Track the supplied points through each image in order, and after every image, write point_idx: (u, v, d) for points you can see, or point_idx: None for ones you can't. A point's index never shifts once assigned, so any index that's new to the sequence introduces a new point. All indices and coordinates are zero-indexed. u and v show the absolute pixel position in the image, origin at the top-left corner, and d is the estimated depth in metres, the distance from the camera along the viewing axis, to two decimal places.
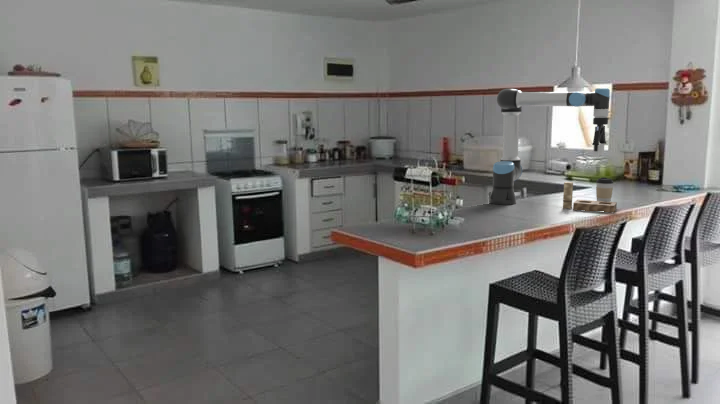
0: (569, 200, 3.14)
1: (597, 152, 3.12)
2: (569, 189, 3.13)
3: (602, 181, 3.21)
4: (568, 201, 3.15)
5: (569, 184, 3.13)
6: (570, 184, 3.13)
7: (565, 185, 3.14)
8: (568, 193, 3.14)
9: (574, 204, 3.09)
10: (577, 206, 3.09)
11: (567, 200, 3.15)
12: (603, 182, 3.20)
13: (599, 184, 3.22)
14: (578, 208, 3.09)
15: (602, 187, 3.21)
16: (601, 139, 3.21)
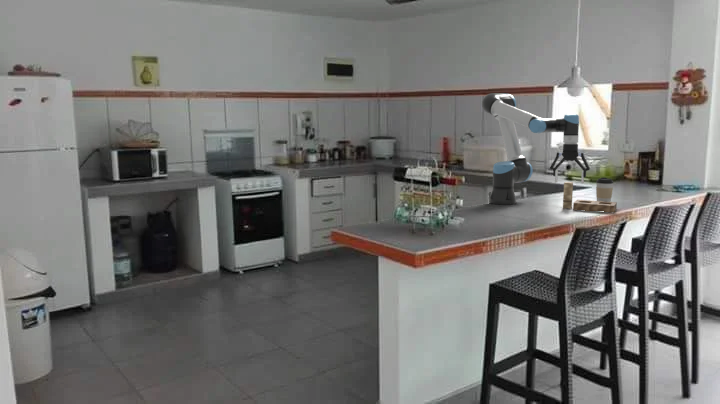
0: (569, 200, 3.14)
1: None
2: (569, 189, 3.13)
3: (602, 181, 3.21)
4: (568, 201, 3.15)
5: (569, 184, 3.13)
6: (570, 184, 3.13)
7: (565, 185, 3.14)
8: (568, 193, 3.14)
9: (574, 204, 3.09)
10: (577, 206, 3.09)
11: (567, 200, 3.15)
12: (603, 182, 3.20)
13: (599, 184, 3.22)
14: (578, 208, 3.09)
15: (602, 187, 3.21)
16: None
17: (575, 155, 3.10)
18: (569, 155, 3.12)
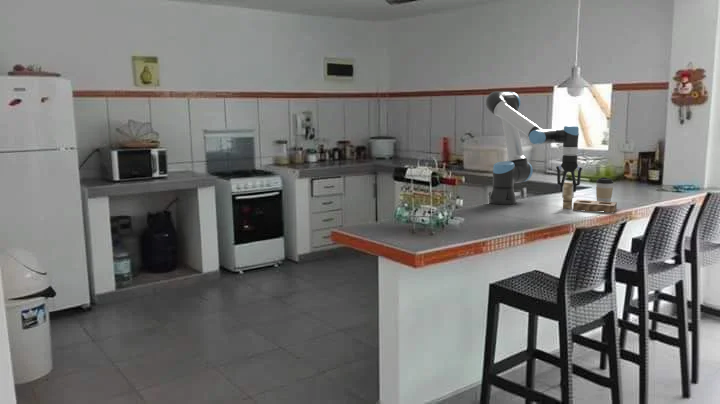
0: (569, 200, 3.14)
1: None
2: (569, 189, 3.13)
3: (602, 181, 3.21)
4: (568, 201, 3.15)
5: (569, 184, 3.13)
6: (570, 184, 3.13)
7: (565, 185, 3.14)
8: (568, 193, 3.14)
9: (574, 204, 3.09)
10: (577, 206, 3.09)
11: (567, 200, 3.15)
12: (603, 182, 3.20)
13: (599, 184, 3.22)
14: (578, 208, 3.09)
15: (602, 187, 3.21)
16: None
17: (574, 166, 3.11)
18: (568, 165, 3.13)
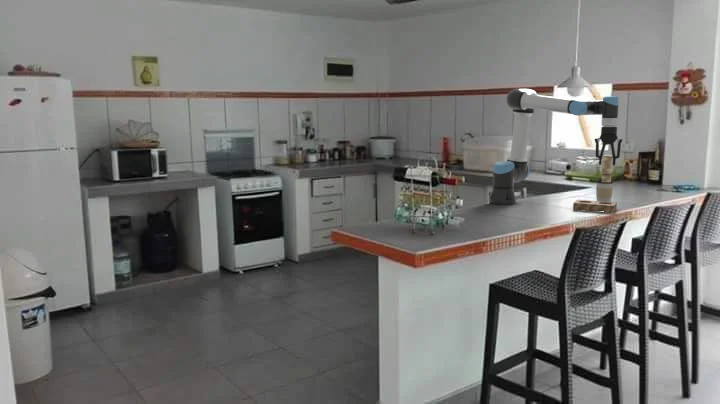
0: (608, 173, 3.02)
1: (601, 166, 3.05)
2: (608, 161, 3.02)
3: None
4: (607, 175, 3.03)
5: (608, 157, 3.01)
6: (609, 157, 3.01)
7: (604, 158, 3.02)
8: (607, 166, 3.02)
9: (574, 204, 3.09)
10: (577, 206, 3.09)
11: (606, 174, 3.03)
12: (603, 182, 3.20)
13: (599, 184, 3.22)
14: (578, 208, 3.09)
15: (602, 187, 3.21)
16: (612, 152, 3.02)
17: (613, 138, 3.00)
18: (607, 137, 3.01)
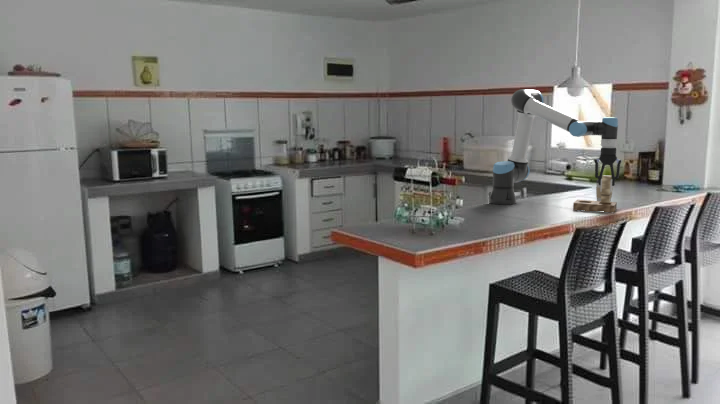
0: (608, 194, 3.04)
1: None
2: (607, 182, 3.03)
3: None
4: (607, 195, 3.04)
5: (608, 177, 3.03)
6: (609, 177, 3.03)
7: (603, 178, 3.04)
8: (607, 187, 3.04)
9: (574, 204, 3.09)
10: (577, 206, 3.09)
11: (606, 194, 3.05)
12: None
13: None
14: (578, 208, 3.09)
15: None
16: None
17: (613, 159, 3.01)
18: (607, 158, 3.03)
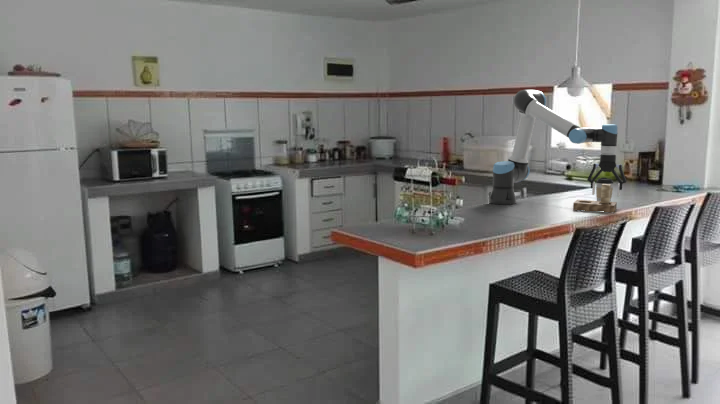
0: (607, 203, 3.05)
1: None
2: (607, 191, 3.04)
3: (602, 181, 3.21)
4: None
5: (607, 186, 3.04)
6: (608, 186, 3.04)
7: (603, 187, 3.05)
8: (606, 195, 3.05)
9: (574, 204, 3.09)
10: (577, 206, 3.09)
11: (605, 203, 3.06)
12: (603, 182, 3.20)
13: (599, 184, 3.22)
14: (578, 208, 3.09)
15: None
16: (617, 178, 3.03)
17: (613, 166, 3.02)
18: (606, 166, 3.03)
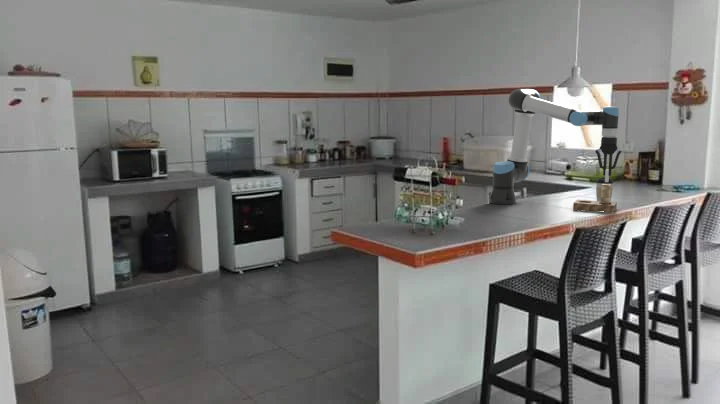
0: (607, 203, 3.05)
1: (605, 176, 3.05)
2: (607, 191, 3.04)
3: (602, 181, 3.21)
4: None
5: (607, 186, 3.04)
6: (608, 186, 3.03)
7: (603, 187, 3.05)
8: (606, 195, 3.05)
9: (574, 204, 3.09)
10: (577, 206, 3.09)
11: (605, 203, 3.05)
12: (603, 182, 3.20)
13: (599, 184, 3.22)
14: (578, 208, 3.09)
15: None
16: (609, 163, 3.04)
17: (613, 148, 3.00)
18: (607, 147, 3.02)
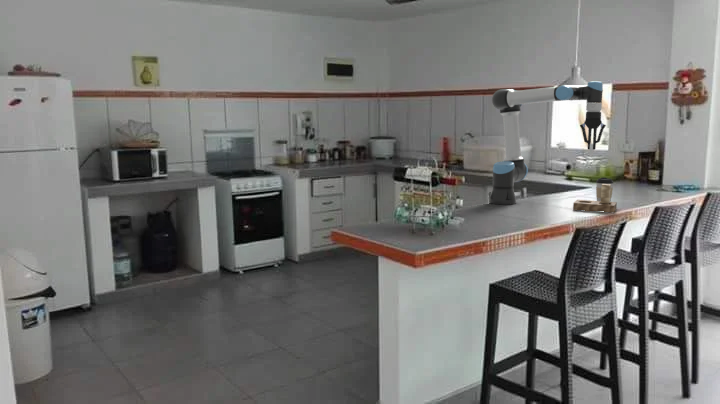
0: (607, 203, 3.05)
1: None
2: (607, 191, 3.04)
3: (602, 181, 3.21)
4: None
5: (607, 186, 3.04)
6: (608, 186, 3.04)
7: (603, 187, 3.05)
8: (606, 195, 3.05)
9: (574, 204, 3.09)
10: (577, 206, 3.09)
11: (605, 203, 3.06)
12: (603, 182, 3.20)
13: (599, 184, 3.22)
14: (578, 208, 3.09)
15: None
16: None
17: (597, 122, 3.07)
18: (591, 122, 3.08)
